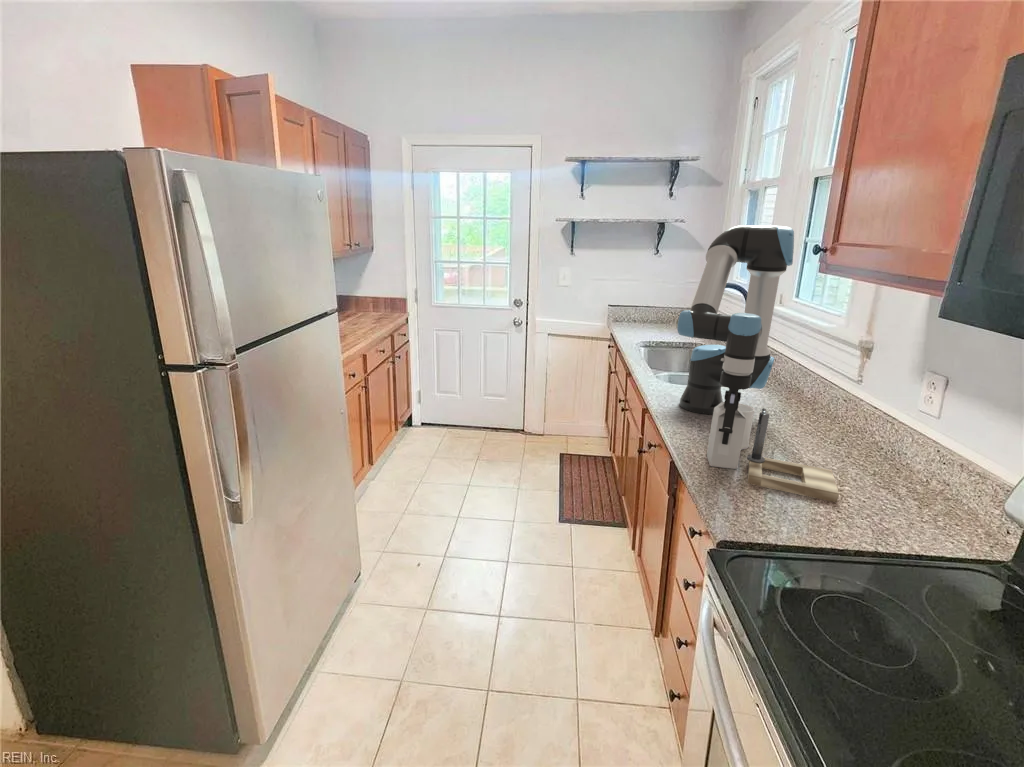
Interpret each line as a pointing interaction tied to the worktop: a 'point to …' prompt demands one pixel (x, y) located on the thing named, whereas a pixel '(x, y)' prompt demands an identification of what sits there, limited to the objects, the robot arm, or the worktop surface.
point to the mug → (748, 414)
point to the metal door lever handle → (759, 438)
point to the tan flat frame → (812, 484)
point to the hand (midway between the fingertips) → (724, 445)
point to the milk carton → (736, 439)
